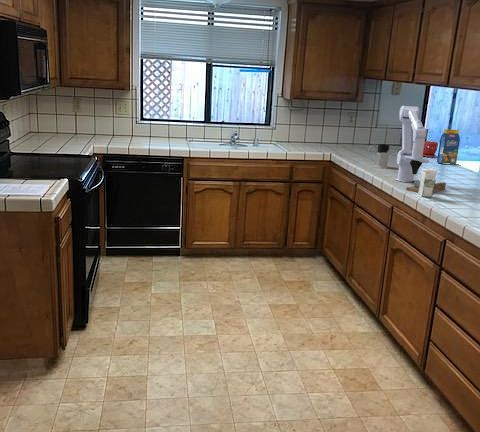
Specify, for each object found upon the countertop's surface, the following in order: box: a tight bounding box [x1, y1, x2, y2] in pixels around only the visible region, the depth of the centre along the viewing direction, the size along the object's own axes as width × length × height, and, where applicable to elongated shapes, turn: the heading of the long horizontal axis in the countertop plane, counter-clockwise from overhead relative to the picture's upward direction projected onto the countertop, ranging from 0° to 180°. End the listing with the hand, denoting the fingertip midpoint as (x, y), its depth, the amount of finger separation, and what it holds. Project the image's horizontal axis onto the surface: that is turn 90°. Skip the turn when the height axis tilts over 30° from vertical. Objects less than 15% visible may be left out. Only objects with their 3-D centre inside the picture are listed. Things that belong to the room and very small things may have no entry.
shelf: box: [405, 181, 447, 194], centre depth 287 cm, size 22×10×4 cm, turn 127°
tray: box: [413, 178, 437, 188], centre depth 287 cm, size 12×5×5 cm, turn 127°
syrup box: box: [417, 167, 437, 198], centre depth 270 cm, size 6×6×14 cm
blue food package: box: [436, 128, 461, 165], centre depth 376 cm, size 6×12×25 cm, turn 101°
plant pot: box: [423, 140, 439, 158], centre depth 408 cm, size 13×13×12 cm
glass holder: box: [367, 143, 390, 169], centre depth 352 cm, size 9×14×15 cm, turn 78°
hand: (414, 174), depth 292 cm, fingers closed
